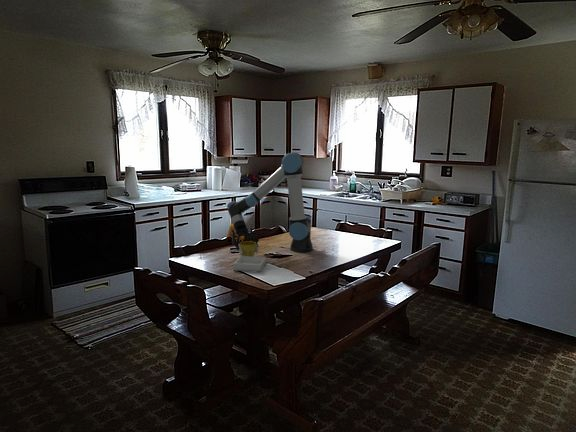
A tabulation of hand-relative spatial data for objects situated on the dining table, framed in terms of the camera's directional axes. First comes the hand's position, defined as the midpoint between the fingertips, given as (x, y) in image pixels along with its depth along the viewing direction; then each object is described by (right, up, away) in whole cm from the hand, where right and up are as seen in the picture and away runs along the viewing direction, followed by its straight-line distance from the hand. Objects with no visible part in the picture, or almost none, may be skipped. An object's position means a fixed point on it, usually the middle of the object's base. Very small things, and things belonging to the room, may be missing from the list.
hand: (249, 253), depth 245 cm
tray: (+2, -7, -14) cm, 16 cm away
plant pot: (-2, -4, +3) cm, 5 cm away
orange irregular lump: (-15, +5, +48) cm, 51 cm away
